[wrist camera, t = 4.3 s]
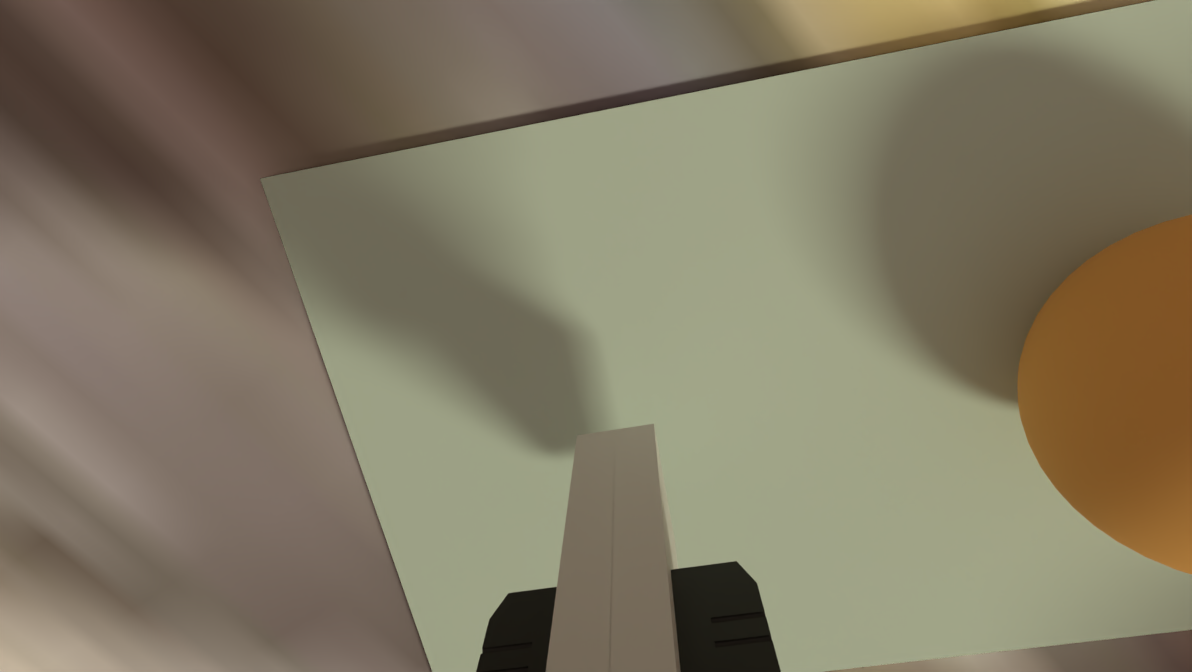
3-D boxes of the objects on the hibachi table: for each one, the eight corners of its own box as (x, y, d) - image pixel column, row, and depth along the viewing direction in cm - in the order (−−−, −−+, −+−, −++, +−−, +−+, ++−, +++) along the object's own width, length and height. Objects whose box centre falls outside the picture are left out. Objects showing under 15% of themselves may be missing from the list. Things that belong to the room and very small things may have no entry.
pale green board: (449, 707, 18) (447, 714, 18) (265, 177, 13) (259, 178, 13) (1856, 546, 15) (1872, 553, 15) (2248, -218, 10) (2278, -224, 10)
